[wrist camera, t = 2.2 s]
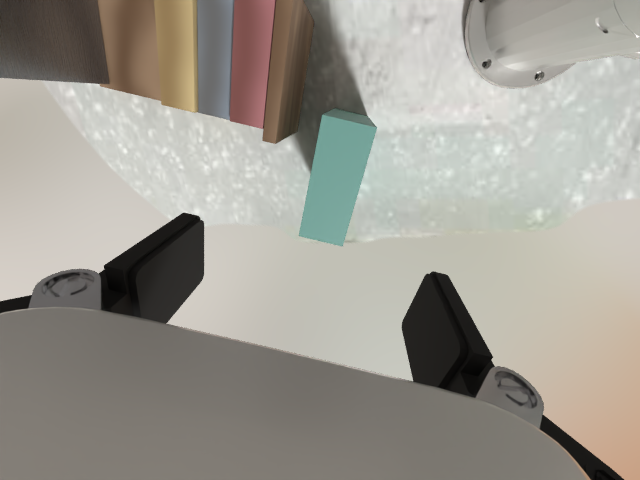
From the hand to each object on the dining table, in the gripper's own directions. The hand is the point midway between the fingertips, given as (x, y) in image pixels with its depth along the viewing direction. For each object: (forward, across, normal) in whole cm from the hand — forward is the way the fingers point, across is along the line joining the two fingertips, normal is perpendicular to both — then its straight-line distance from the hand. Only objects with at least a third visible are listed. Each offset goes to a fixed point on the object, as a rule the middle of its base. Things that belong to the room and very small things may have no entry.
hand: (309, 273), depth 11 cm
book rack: (+26, +18, -7) cm, 32 cm away
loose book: (+26, 0, 0) cm, 26 cm away
